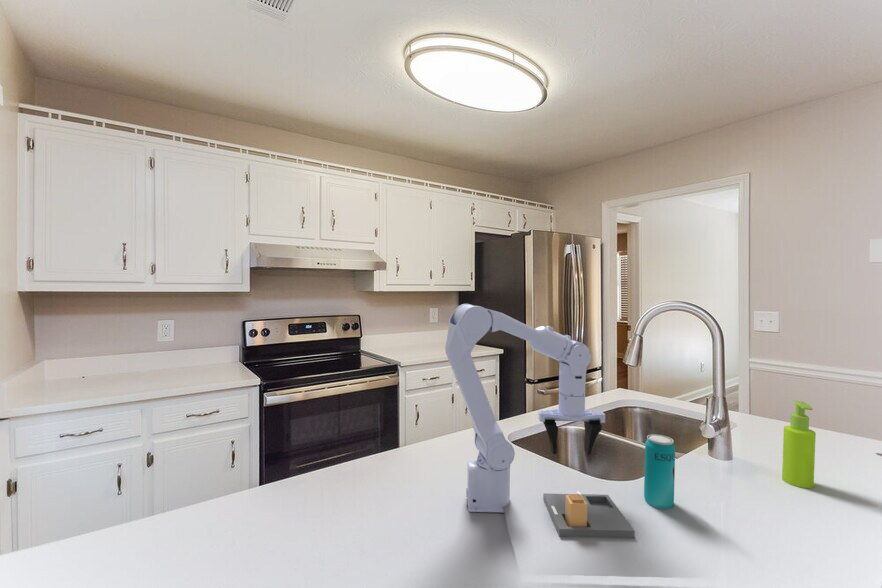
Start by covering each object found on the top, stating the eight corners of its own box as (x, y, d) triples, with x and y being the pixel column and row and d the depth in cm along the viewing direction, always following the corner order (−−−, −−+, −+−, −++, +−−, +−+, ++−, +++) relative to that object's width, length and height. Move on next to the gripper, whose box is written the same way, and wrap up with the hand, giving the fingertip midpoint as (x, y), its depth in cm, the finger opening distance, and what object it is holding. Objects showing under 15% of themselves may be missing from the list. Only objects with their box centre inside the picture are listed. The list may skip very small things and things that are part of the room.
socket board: (559, 541, 77) (559, 528, 77) (542, 501, 91) (542, 490, 91) (634, 543, 77) (634, 530, 77) (605, 502, 91) (605, 491, 91)
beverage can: (677, 515, 86) (679, 444, 86) (648, 512, 87) (649, 442, 87) (668, 501, 92) (670, 434, 91) (640, 498, 93) (642, 432, 92)
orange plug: (569, 532, 78) (570, 501, 78) (565, 522, 81) (565, 492, 81) (586, 532, 78) (587, 501, 78) (581, 522, 81) (581, 492, 81)
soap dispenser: (789, 487, 98) (792, 404, 98) (778, 475, 105) (780, 397, 104) (820, 492, 96) (823, 407, 96) (807, 479, 103) (810, 400, 102)
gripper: (543, 397, 89) (542, 459, 90) (611, 398, 89) (609, 460, 89) (536, 389, 96) (536, 446, 97) (599, 390, 96) (598, 447, 96)
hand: (570, 452), depth 93 cm, fingers open, 7 cm apart
